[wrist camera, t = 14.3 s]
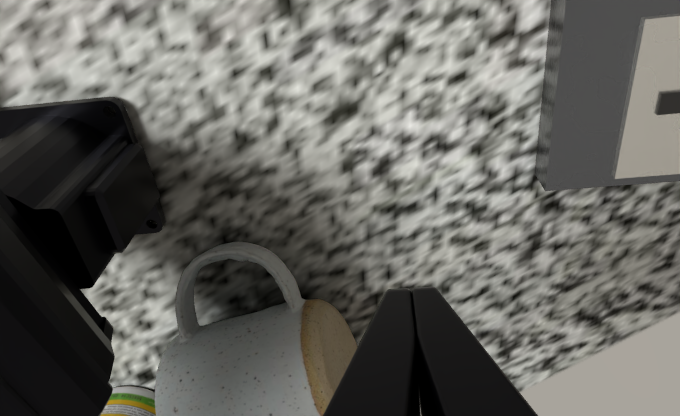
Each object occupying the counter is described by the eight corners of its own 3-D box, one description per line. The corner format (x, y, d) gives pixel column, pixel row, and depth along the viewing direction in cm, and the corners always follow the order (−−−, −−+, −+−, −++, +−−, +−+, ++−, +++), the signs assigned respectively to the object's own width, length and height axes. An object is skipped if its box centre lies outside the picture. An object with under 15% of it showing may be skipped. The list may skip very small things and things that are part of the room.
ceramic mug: (377, 356, 29) (379, 494, 22) (251, 392, 31) (219, 526, 24) (290, 208, 24) (259, 326, 17) (147, 261, 26) (72, 385, 19)
